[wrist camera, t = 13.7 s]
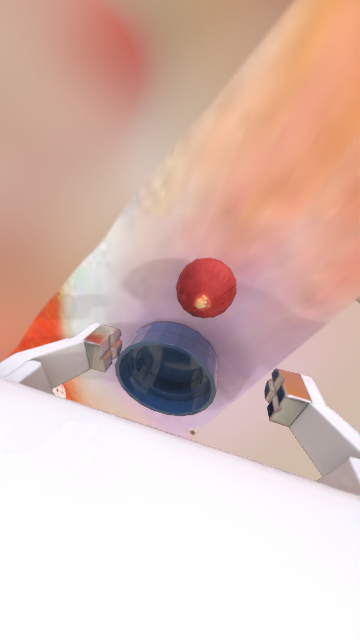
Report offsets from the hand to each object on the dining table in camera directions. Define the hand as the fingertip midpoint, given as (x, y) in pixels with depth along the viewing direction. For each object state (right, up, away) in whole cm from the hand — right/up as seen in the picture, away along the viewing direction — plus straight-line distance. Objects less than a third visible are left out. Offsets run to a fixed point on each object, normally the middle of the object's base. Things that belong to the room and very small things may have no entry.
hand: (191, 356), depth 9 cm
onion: (+3, +7, +12) cm, 14 cm away
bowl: (-2, -4, +19) cm, 20 cm away
